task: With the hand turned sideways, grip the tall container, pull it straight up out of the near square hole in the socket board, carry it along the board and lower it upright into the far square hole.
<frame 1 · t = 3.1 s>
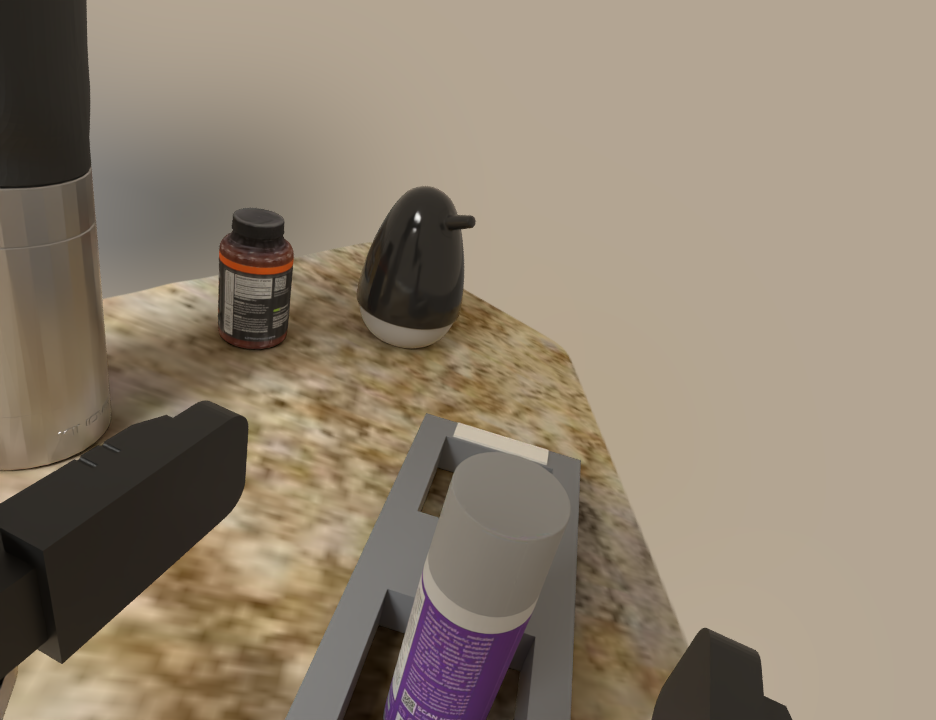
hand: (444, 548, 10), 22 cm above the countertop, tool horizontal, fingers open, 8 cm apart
pump dispenser: (402, 337, 61), on the countertop
supplement bottle: (252, 337, 55), on the countertop
socket board: (459, 603, 35), on the countertop
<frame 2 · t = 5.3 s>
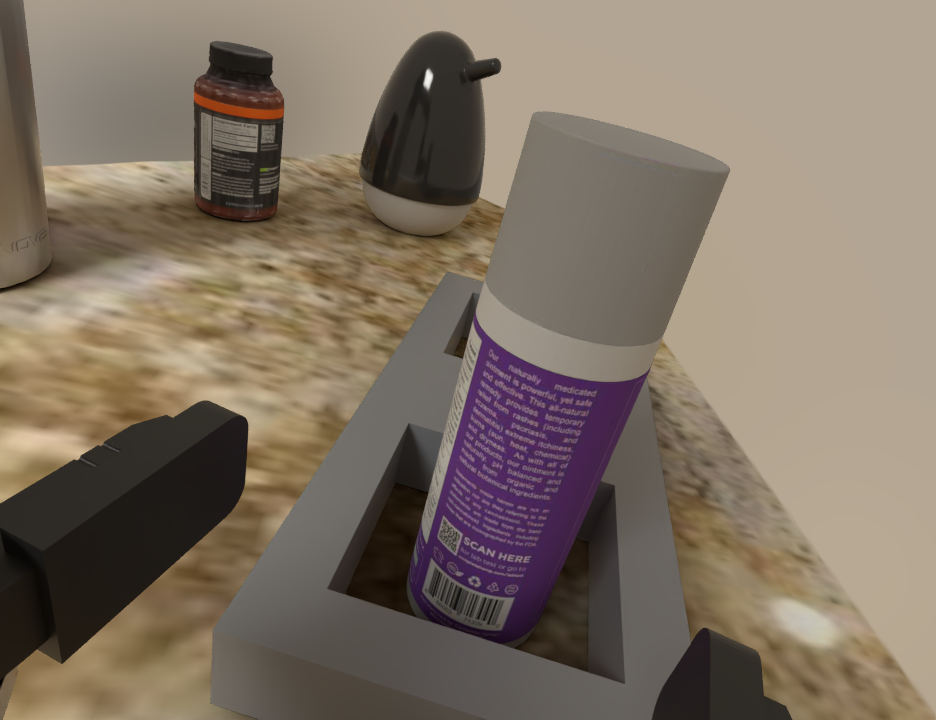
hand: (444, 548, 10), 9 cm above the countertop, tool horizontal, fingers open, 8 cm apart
container: (472, 595, 21), resting in socket board
pump dispenser: (412, 227, 53), on the countertop
supplement bottle: (236, 212, 46), on the countertop
socket board: (501, 466, 27), on the countertop
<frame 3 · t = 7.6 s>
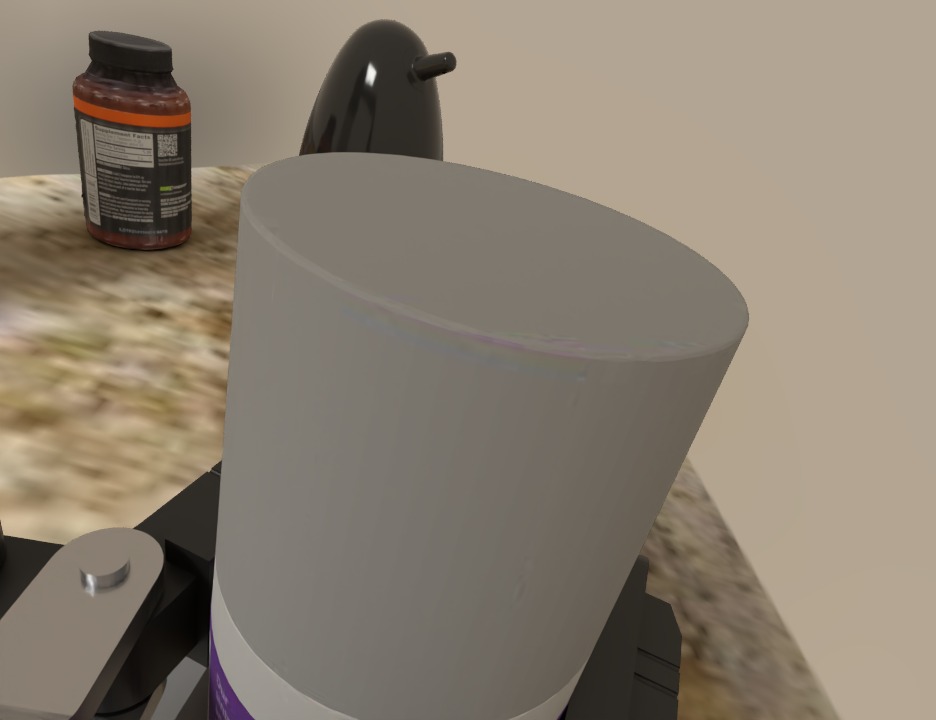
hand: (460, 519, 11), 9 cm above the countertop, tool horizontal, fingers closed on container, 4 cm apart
pump dispenser: (361, 252, 45), on the countertop
supplement bottle: (140, 237, 39), on the countertop
socket board: (412, 627, 19), on the countertop
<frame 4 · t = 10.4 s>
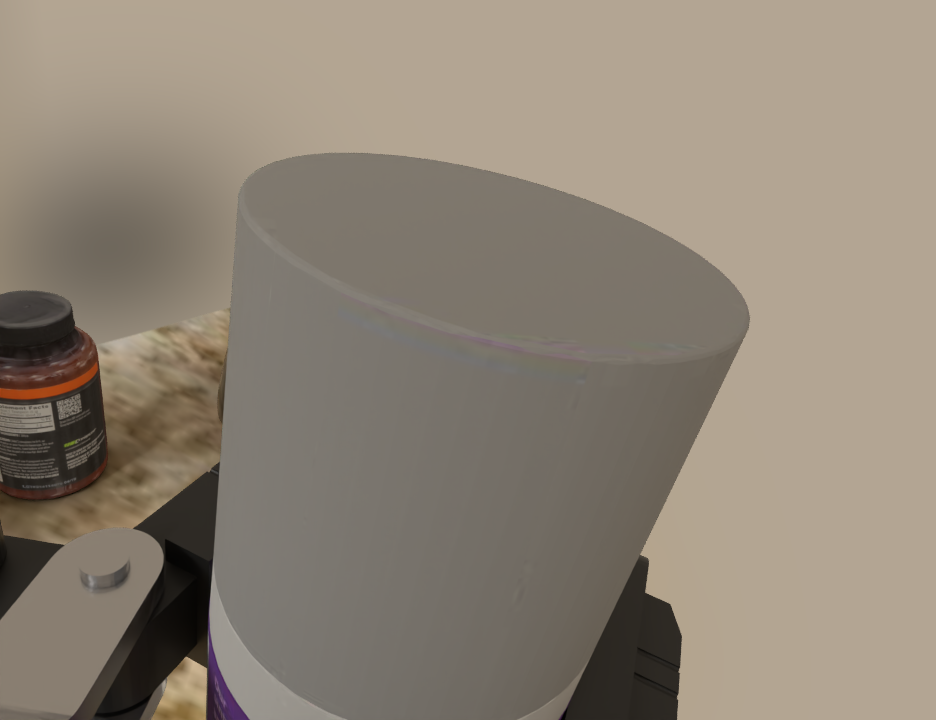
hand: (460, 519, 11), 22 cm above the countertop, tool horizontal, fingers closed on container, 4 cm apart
pump dispenser: (293, 451, 43), on the countertop
supplement bottle: (53, 472, 37), on the countertop
when the fingers open (10 cm above the countertop, at t = 13.6 s): container drops 1 cm, resting in socket board.
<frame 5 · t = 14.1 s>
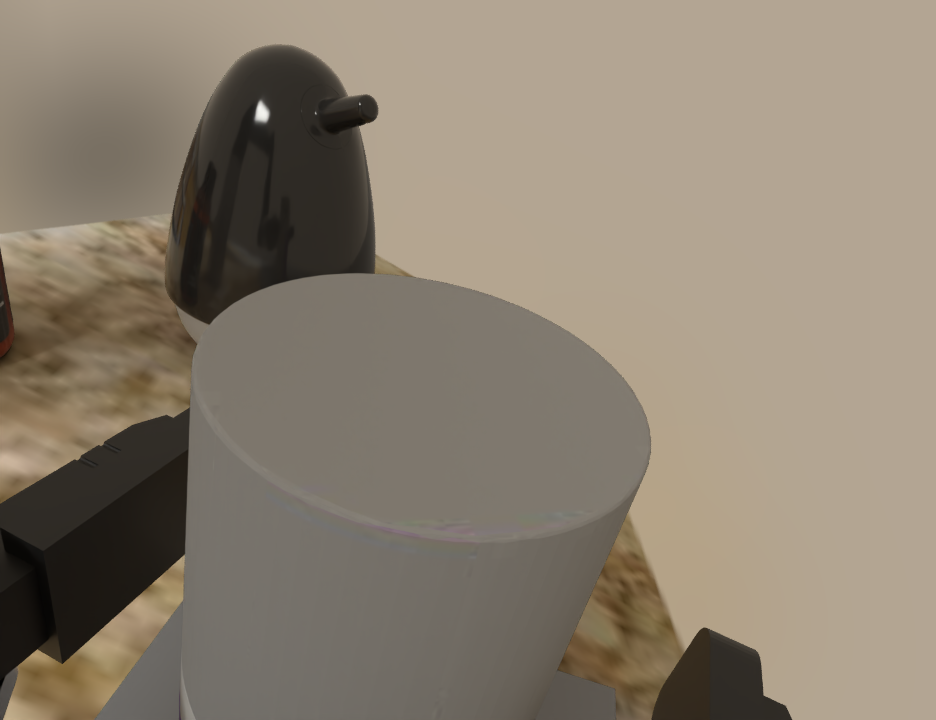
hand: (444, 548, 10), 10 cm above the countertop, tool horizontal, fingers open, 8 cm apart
pump dispenser: (270, 352, 33), on the countertop
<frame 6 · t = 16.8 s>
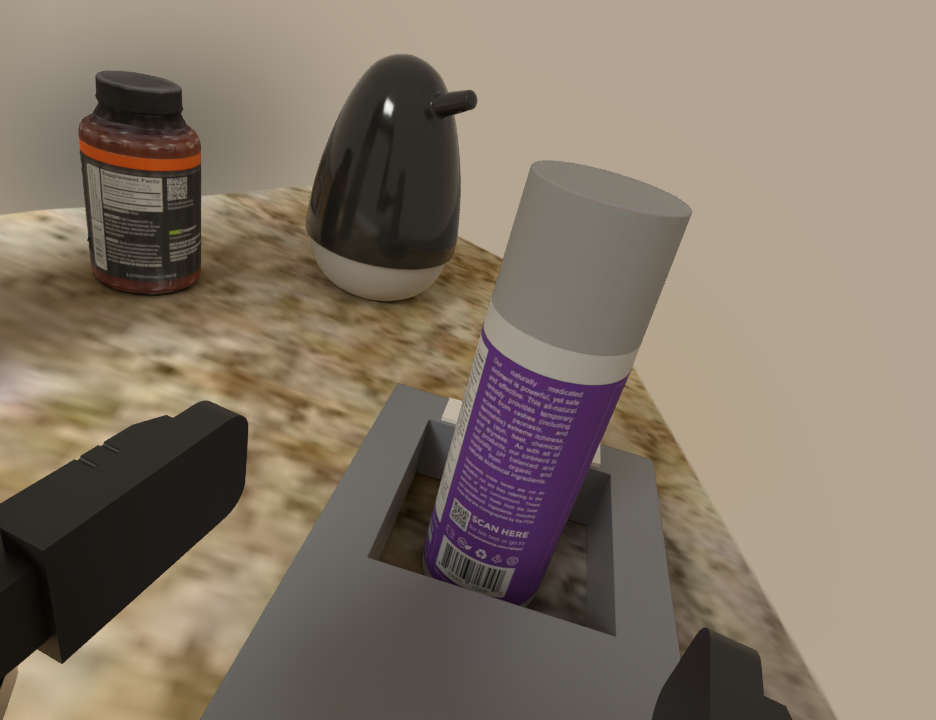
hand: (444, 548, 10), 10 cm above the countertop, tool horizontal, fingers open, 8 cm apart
container: (479, 570, 24), resting in socket board
pump dispenser: (374, 288, 43), on the countertop
supplement bottle: (148, 279, 37), on the countertop
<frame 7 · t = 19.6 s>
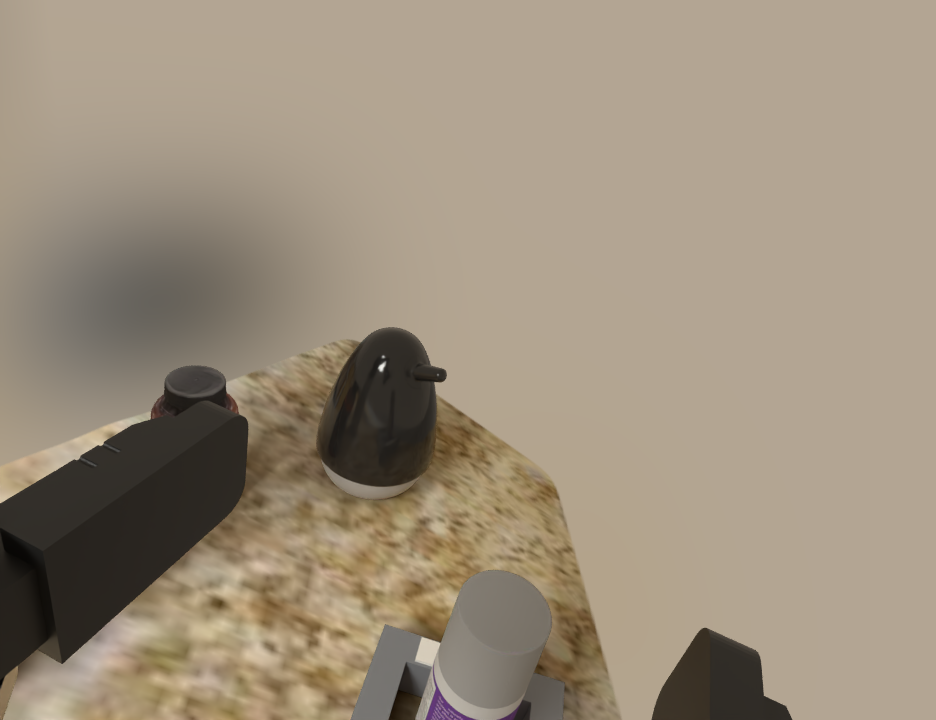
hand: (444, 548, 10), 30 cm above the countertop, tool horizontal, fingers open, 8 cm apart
pump dispenser: (370, 479, 55), on the countertop
supplement bottle: (196, 497, 48), on the countertop
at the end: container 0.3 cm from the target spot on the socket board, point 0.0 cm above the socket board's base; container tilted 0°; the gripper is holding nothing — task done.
